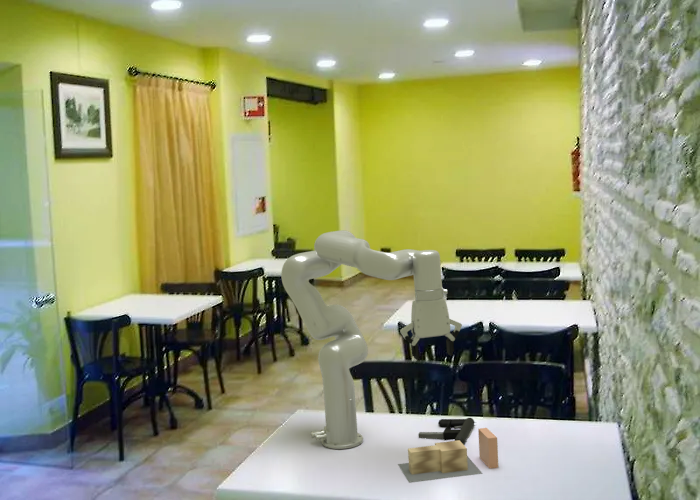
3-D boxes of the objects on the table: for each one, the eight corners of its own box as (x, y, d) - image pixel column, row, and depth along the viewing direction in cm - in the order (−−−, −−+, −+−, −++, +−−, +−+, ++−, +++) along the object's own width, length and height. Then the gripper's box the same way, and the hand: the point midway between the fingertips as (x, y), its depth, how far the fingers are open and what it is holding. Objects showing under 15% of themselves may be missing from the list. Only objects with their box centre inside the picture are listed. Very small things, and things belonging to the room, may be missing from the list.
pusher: (413, 476, 196) (412, 454, 196) (407, 467, 202) (406, 446, 202) (467, 470, 199) (466, 448, 198) (460, 461, 205) (459, 440, 204)
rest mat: (409, 484, 193) (408, 482, 193) (397, 466, 206) (397, 464, 205) (482, 475, 196) (482, 473, 196) (467, 457, 209) (467, 455, 209)
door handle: (413, 438, 221) (466, 438, 215) (428, 416, 240) (478, 416, 234) (414, 448, 221) (468, 449, 216) (429, 426, 240) (479, 426, 234)
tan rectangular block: (489, 470, 199) (488, 438, 198) (479, 460, 207) (478, 428, 206) (498, 469, 199) (497, 437, 198) (488, 458, 207) (487, 427, 206)
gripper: (454, 290, 208) (458, 350, 210) (394, 296, 205) (399, 357, 207) (463, 293, 201) (467, 355, 202) (401, 300, 198) (406, 363, 199)
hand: (433, 356), depth 204 cm, fingers open, 9 cm apart
